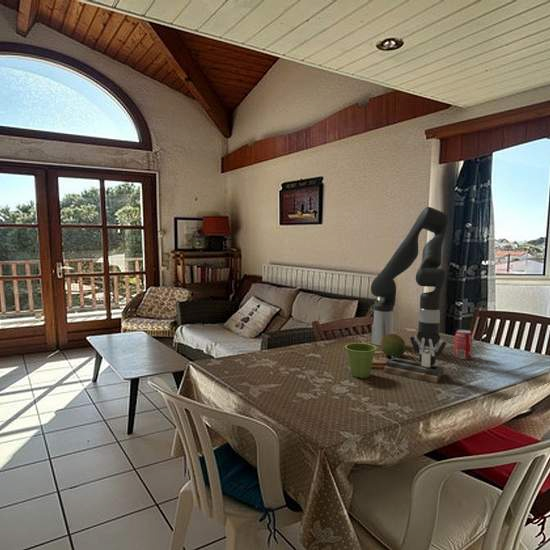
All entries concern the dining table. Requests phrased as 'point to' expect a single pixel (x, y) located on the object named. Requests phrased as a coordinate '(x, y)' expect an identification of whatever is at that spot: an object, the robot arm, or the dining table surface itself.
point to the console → (414, 369)
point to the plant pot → (360, 358)
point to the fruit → (392, 345)
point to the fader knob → (426, 359)
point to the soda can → (463, 344)
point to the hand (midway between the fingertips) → (427, 363)
